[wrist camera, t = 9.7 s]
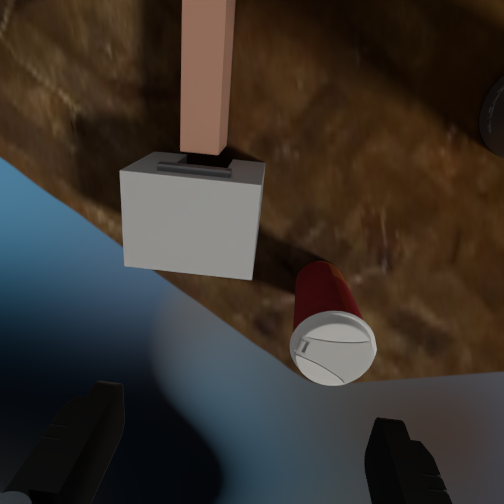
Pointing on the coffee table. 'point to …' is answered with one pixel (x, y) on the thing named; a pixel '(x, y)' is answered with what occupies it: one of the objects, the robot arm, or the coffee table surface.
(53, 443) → the robot arm
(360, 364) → the paper cup
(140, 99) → the coffee table surface
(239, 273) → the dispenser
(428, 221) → the coffee table surface
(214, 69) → the pink white-banded pillar
